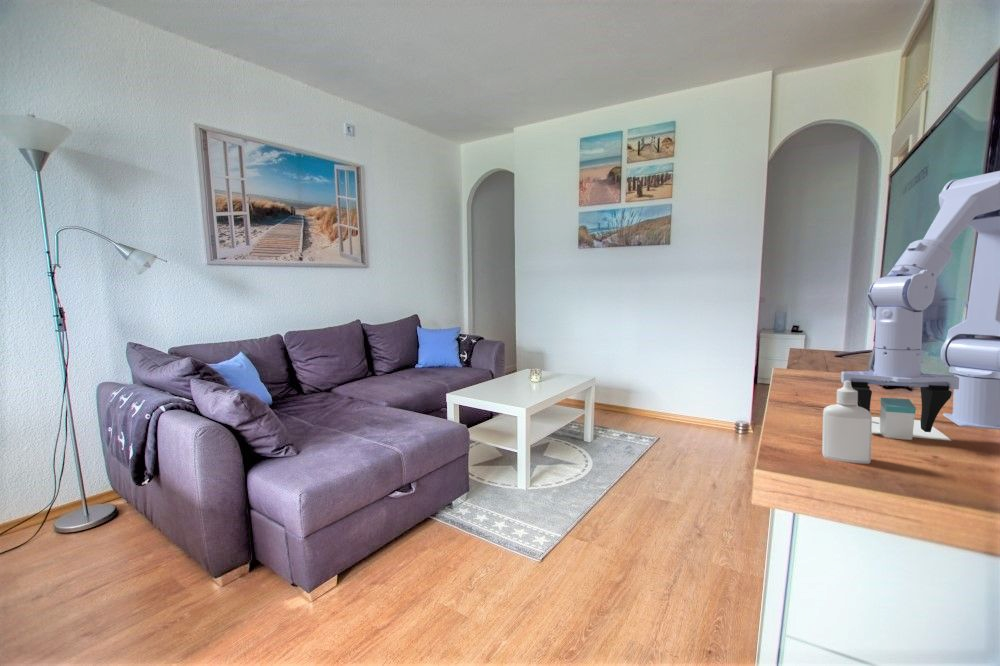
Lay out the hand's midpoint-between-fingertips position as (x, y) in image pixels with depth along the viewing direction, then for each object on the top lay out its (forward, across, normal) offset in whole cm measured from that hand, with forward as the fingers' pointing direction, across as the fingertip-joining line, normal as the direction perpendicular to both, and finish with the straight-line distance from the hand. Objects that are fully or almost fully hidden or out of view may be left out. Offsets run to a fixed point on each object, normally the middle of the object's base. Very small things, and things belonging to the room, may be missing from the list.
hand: (895, 427), depth 74 cm
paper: (+2, +1, +6) cm, 6 cm away
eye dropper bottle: (+2, -9, -15) cm, 18 cm away
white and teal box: (+1, 0, 0) cm, 1 cm away
